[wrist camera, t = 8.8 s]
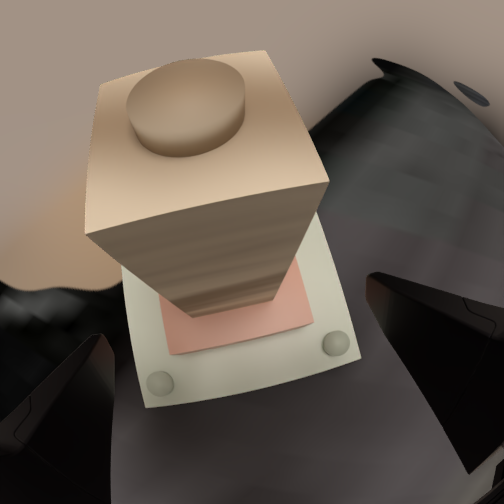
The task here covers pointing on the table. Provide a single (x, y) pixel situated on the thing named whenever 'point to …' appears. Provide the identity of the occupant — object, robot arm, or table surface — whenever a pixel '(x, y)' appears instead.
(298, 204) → the tower piece
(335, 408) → the table surface
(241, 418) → the table surface
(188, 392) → the foundation
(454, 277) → the table surface
